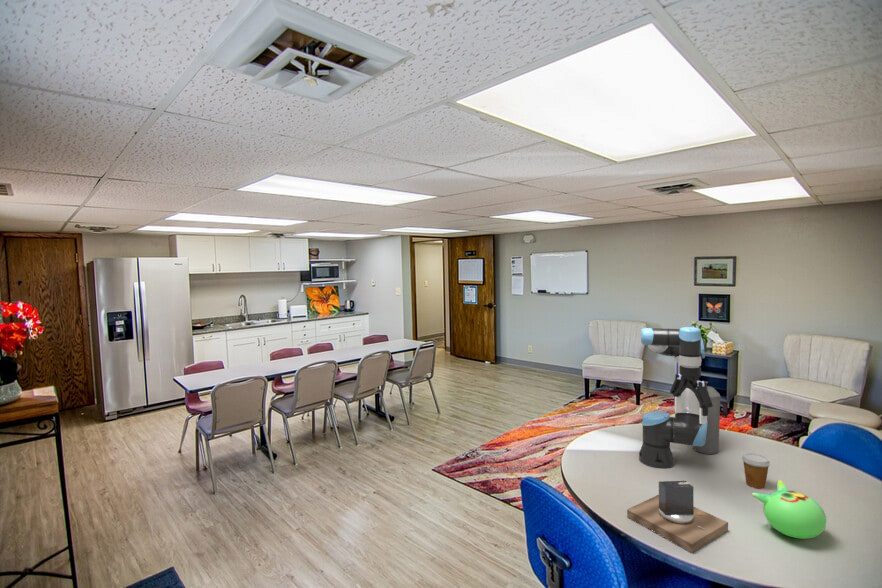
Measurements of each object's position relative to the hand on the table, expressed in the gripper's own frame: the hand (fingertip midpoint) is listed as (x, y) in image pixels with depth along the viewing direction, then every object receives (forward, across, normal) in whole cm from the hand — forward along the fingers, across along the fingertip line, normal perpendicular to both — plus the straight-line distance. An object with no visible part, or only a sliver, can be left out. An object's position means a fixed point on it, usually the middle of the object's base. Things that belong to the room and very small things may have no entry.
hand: (690, 417), depth 172 cm
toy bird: (+32, -30, -14) cm, 46 cm away
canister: (+32, +34, -37) cm, 59 cm away
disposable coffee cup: (+32, -1, -30) cm, 44 cm away
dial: (+28, -17, +20) cm, 39 cm away
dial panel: (+31, -17, +20) cm, 41 cm away
